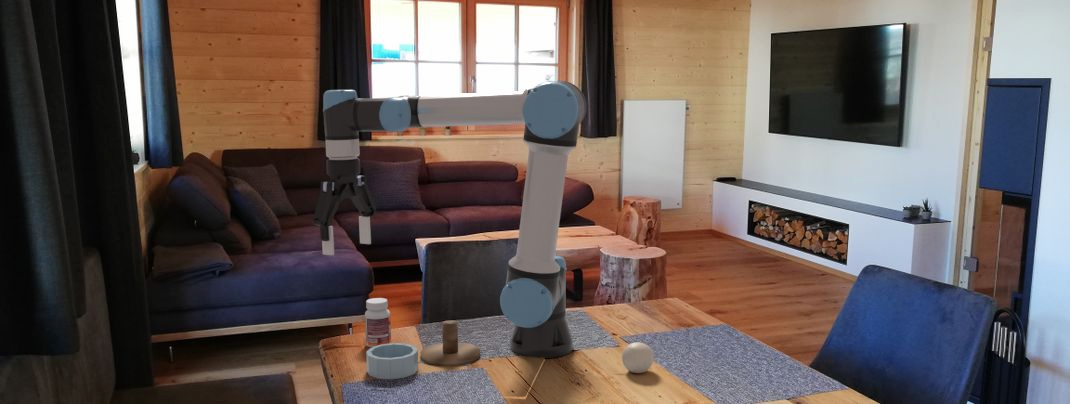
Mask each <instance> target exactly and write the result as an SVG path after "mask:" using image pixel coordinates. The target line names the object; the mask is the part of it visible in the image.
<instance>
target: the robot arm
mask: <svg viewBox="0 0 1070 404" xmlns="http://www.w3.org/2000/svg"><path fill="white" fill-rule="evenodd" d="M322 101H323V103H322V104H323V106H322V107H323V109H322V112H323V125H324V126H323V127H324V135H325V136H324V140H325V156H326V157H327V158H328V159H326V163H325V164H326V174H327V176H329V177H330V181H321V182H320V189H319V191H320V193H319V195H318V200H317V203H316V207H315V212H314V215H313V218H312V225H315V226H316V227H319V231H320V241H321V244H322V255H325V256H335V242H334V241H335V239H334V225H331V224H332V223H333V219H334V217H335V215H336V212H337V211H338V208H339V207H340V204H341V203H342V202H343V201H344V200H346V199H350V200H351V202H352V203H353V205H354V207H355V208H356V209H357V210H358V212H359V214H360V216H358V225H359V226H358V228H359V231H358V232H359V244H362V245H363V244H365V245H371V244H372V235H371V231H372V229H371V228H372V223H371V222H372V221H371V219H372V218H371V217H374V216H375V214H376V212H377V205H376V203H375V201H374V199H373V196H372V194H371V191H370V188H369V186H368V180H367V179H368V177H367V175H360V174H361V161H360V160H361V159H359V158H358V157H360V155H361V154H360V152H361V151H360V135H359V132H361V133H363V132H374V133H375V132H377V133H379V132H384V133H385V132H387V133H388V132H389V133H397V132H405V131H406V130H408V129H412V128H413V129H415V128H435V127H467V126H470V127H471V126H472V127H473V126H497V125H499V126H500V125H524V129H523V130H524V131H523V140H522V142H524V144H525V145H526V146H527V148H528V157H527V164H526V174H525V181H524V189H523V197H522V198H523V199H522V207H521V214H520V223H519V230H518V231H519V232H518V239H517V245H516V246H517V247H516V254H515V256H513V257H512V258H510V259H509V260H508V263H507V265H508V266H507V272H506V282H505V285H504V286H503V288H502V290H501V293H500V297H499V299H500V300H499V304H500V308H501V311H502V314H503V315H504V316H505V318H506V319H507V320H508V321H509V322H511V323H512V324H513V325H514V328H513V331H512V334H511V336H510V340H509V341H510V343H509V344H510V346H509V347H510V350H511V351H512V352H513V353H515V354H518V355H521V356H524V357H531V358H544V359H551V358H552V359H554V358H559V357H562V356H563V357H564V356H566V355H568V354H570V353H572V351H573V349H574V348H573V346H574V345H573V343H574V341H573V337H572V334H571V330H570V327H569V324H568V321H567V317H566V316H567V315H566V312H567V311H566V308H567V307H566V301H567V300H566V299H567V298H566V295H567V293H566V289H567V288H566V283H567V281H566V279H567V276H566V274H567V265H566V260H565V258H564V257H563V256H559V255H556V251H557V243H558V236H559V228H560V220H561V214H562V207H563V206H562V205H563V197H564V189H565V183H566V175H567V166H568V165H567V164H568V159H569V158H568V157H569V154H570V153H571V152H573V150H575V149H576V148H577V143H578V137H579V136H578V135H579V128H580V124H581V123H582V122H583V120H584V118H585V115H586V114H587V101H586V98H585V95H584V93H583V92H582V90H581V89H580V88H579V87H578V86H577V85H576V84H574V83H571V82H568V81H565V80H547V81H544V82H541V83H539V84H537V85H535V86H533V85H532V86H527V87H526V89H525V90H521V91H520V90H519V91H516V90H515V91H498V92H497V91H495V92H477V93H476V92H473V93H454V94H452V93H451V94H448V93H447V94H430V95H428V94H427V95H426V94H425V95H400V96H393V97H389V96H388V97H378V98H377V97H376V98H375V97H374V98H360V97H358V94H357V91H356V90H354V89H329V90H326V91H325V92H324V93H323V100H322Z"/></svg>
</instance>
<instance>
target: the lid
mask: <svg viewBox="0 0 1070 404" xmlns="http://www.w3.org/2000/svg"><path fill="white" fill-rule="evenodd" d="M441 325H442V327H441V328H442V330H441V331H442V342H439V343H435V344H434V343H433V344H430V345H427V346H425V347H423V348H422V349H421V350H420V352H419V353H420V360H421V359H422V360H423V361H424V362H427V363H426V364H429V365H435V366H450V367H451V366H452V367H453V366H463V365H462V364H467V363H470V362H471V363H472V362H475V361H478V359H479V358H480V357H481V350H480V349H481V348H480V347H478V346H476V345H475V344H472V343H467V342H459V323H458V321H457V320H452V319H451V320H445V321H442V323H441Z"/></svg>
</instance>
